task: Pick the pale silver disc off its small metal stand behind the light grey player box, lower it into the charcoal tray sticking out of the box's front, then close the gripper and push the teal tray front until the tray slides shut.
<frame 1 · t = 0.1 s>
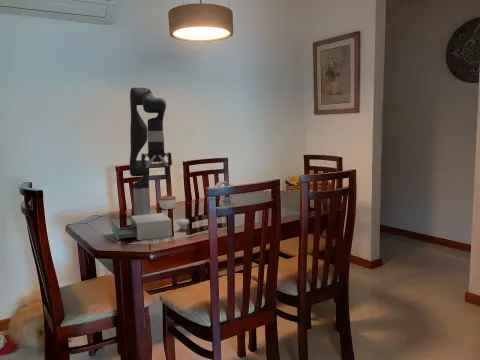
hand: (157, 174, 193), 29 cm above the table, tool pointing down, fingers open, 8 cm apart
stand: (183, 230, 204), on the table
headphones: (223, 214, 241), on the table
housing: (151, 233, 198), on the table
lidded jar: (167, 209, 260), on the table
disc: (183, 223, 203), point 3 cm above the table, touching stand
tray: (130, 227, 193), point 4 cm above the table, slide at 8.0 cm
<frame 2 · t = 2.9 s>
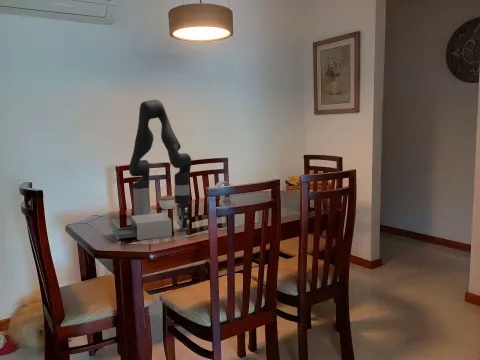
hand: (183, 226, 204), 2 cm above the table, tool pointing down, fingers closed on disc, 6 cm apart
disc: (183, 223, 203), point 4 cm above the table, touching gripper, stand
everything else where it was.
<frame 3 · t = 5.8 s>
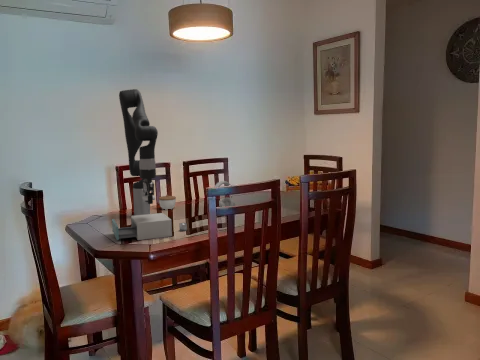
hand: (149, 202, 195), 16 cm above the table, tool pointing down, fingers closed on disc, 6 cm apart
disc: (148, 199, 195), point 17 cm above the table, touching gripper
everything else where it was.
when the fingers open (3 cm above the table, at t = 9.0 s): disc drops 2 cm, resting on tray.
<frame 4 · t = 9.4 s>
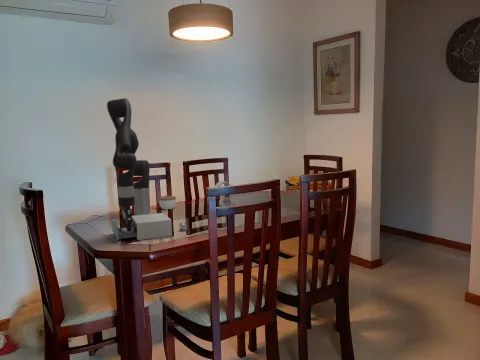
hand: (127, 229, 193), 4 cm above the table, tool pointing down, fingers open, 8 cm apart
disc: (128, 232, 193), point 2 cm above the table, touching tray
tray: (130, 227, 193), point 4 cm above the table, slide at 8.0 cm, touching disc
everything else where it was.
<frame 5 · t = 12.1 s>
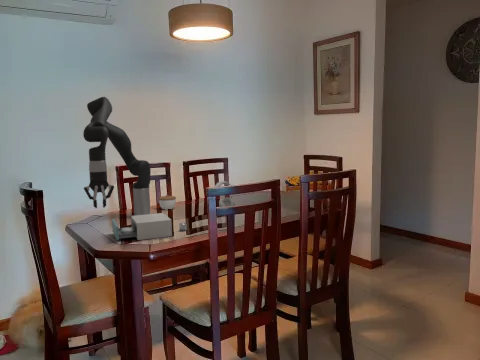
hand: (100, 207, 187), 15 cm above the table, tool pointing down, fingers open, 3 cm apart
nothing on the table moved.
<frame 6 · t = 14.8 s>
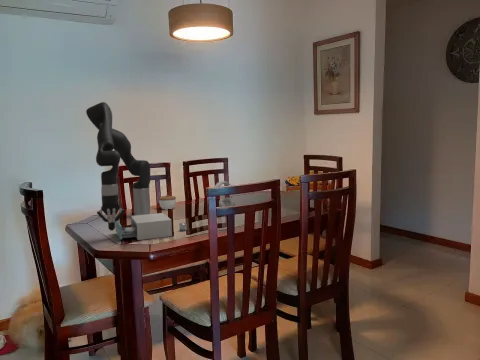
hand: (111, 230, 190), 4 cm above the table, tool pointing down, fingers closed
disc: (131, 231, 193), point 2 cm above the table, touching tray
tray: (134, 227, 194), point 4 cm above the table, slide at 6.5 cm, touching disc, gripper
everything else where it was.
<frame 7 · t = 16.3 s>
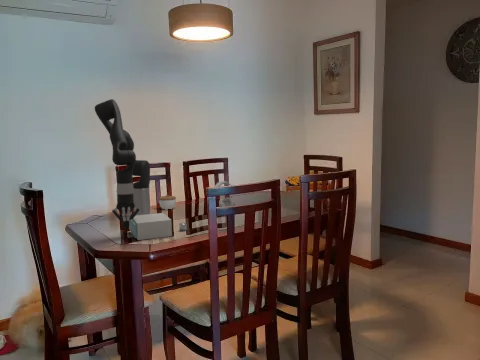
hand: (126, 228, 193), 4 cm above the table, tool pointing down, fingers closed
disc: (145, 230, 196), point 2 cm above the table, touching tray
tray: (147, 225, 196), point 4 cm above the table, slide at -0.1 cm, touching disc, gripper
everything else where it was.
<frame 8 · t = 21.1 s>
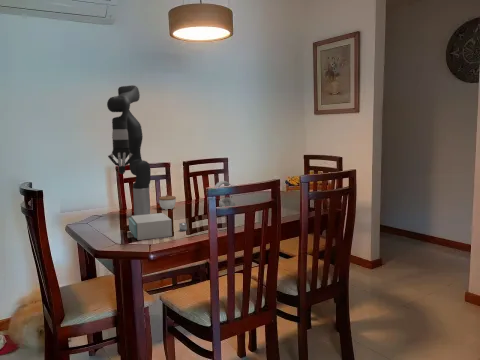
hand: (122, 173, 201), 29 cm above the table, tool pointing down, fingers closed
tray: (147, 225, 196), point 4 cm above the table, slide at 0.0 cm, touching disc
everything else where it was.
at the end: tray slide at 0.0 cm; disc inside the target area on the housing (2.0 cm from its centre), point 2.1 cm above the housing's base; the gripper is holding nothing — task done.
